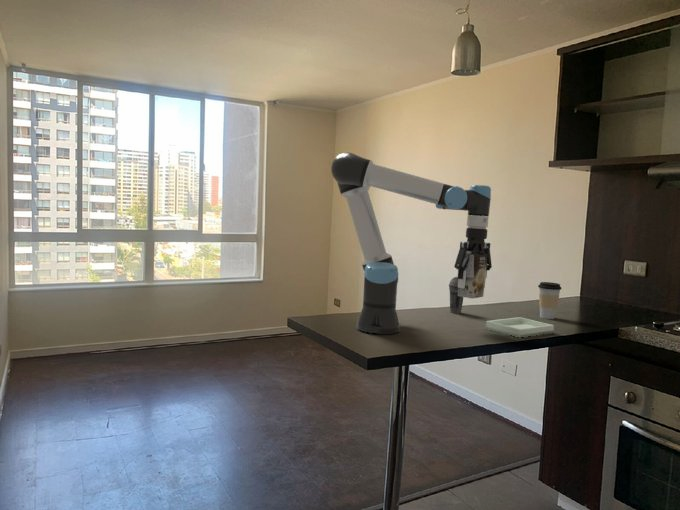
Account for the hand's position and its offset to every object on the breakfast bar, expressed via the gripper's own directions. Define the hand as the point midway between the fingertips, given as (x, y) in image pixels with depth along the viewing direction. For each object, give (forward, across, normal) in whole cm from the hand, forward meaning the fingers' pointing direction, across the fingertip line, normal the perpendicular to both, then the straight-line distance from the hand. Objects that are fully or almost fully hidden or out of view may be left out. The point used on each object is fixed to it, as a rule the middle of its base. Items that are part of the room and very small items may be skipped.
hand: (471, 287), depth 190 cm
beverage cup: (+16, +20, +24) cm, 35 cm away
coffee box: (+4, 0, 0) cm, 4 cm away
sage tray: (+15, +17, -10) cm, 25 cm away
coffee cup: (+15, +52, +2) cm, 54 cm away
